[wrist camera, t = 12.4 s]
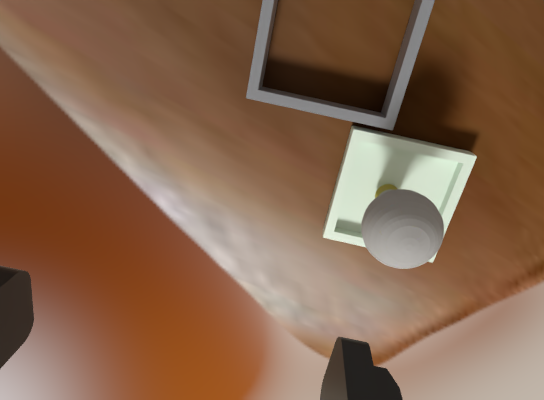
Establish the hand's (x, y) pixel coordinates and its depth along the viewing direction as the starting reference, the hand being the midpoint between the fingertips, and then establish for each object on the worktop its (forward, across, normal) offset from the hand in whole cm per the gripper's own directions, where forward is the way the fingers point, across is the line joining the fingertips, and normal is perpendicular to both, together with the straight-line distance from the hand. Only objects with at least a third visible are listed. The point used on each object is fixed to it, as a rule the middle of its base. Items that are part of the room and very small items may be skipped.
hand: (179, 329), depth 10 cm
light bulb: (+25, -11, +4) cm, 27 cm away
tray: (+25, -12, +4) cm, 28 cm away
